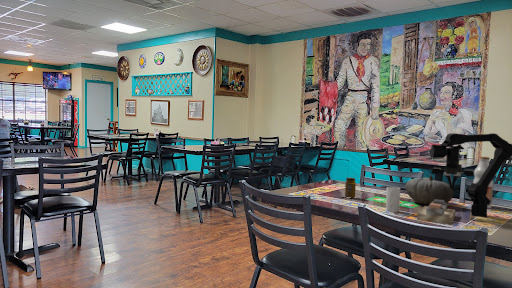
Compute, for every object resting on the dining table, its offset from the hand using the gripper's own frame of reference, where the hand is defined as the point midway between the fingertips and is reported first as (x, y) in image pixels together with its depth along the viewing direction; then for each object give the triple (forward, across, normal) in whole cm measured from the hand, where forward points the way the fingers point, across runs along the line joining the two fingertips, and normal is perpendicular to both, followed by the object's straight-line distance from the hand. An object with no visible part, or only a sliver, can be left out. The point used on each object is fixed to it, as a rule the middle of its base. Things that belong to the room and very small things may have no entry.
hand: (451, 188), depth 186 cm
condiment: (+12, -56, +9) cm, 58 cm away
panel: (+13, -5, -14) cm, 19 cm away
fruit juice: (+14, +13, +31) cm, 36 cm away
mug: (+12, -26, -13) cm, 32 cm away
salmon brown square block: (+8, -6, -20) cm, 22 cm away
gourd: (+13, -13, +22) cm, 28 cm away
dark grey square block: (+8, -5, -8) cm, 12 cm away
